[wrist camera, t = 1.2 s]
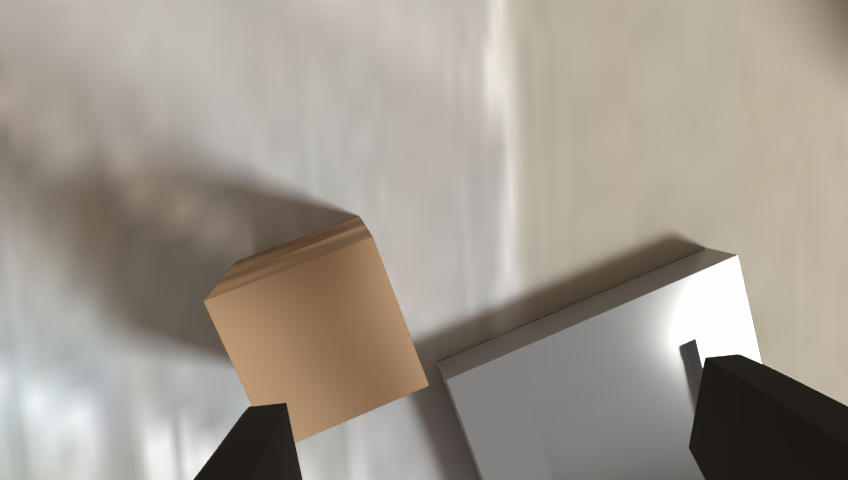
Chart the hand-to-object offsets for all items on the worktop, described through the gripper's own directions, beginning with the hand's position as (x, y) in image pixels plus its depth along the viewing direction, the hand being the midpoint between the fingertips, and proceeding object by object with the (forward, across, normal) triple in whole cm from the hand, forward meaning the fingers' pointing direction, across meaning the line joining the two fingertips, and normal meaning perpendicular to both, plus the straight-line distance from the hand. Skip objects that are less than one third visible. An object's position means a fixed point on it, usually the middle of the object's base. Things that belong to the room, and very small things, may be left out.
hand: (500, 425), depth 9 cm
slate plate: (+9, -7, +10) cm, 15 cm away
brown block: (+10, +4, +2) cm, 11 cm away
